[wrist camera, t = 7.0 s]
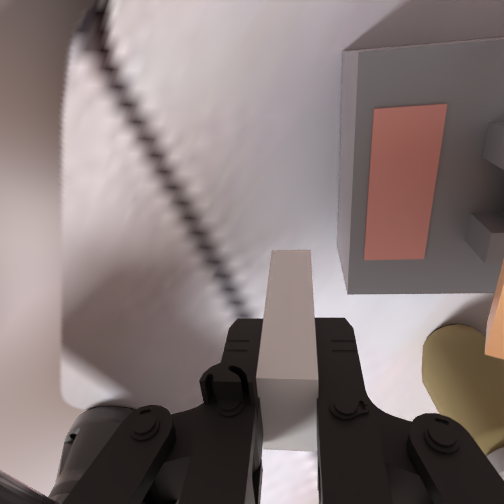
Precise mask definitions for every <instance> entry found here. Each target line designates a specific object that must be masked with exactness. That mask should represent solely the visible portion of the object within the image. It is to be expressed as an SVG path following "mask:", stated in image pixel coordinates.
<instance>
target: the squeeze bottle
mask: <svg viewBox="0 0 504 504" xmlns="http://www.w3.org/2000/svg"><path fill="white" fill-rule="evenodd" d="M485 342H486V336H485V335H483V334H482V333H480V332H479V331H477V330H476V329H474V328H472V327H471V326H466V325H460V324H456V325H448V326H445V327H442V328H440V329H438V330H435V331H434V332H433V333H432V334H431V335H430V336H428V337H427V339H426V341H425V343H424V345H423V356H422V382H423V384H424V386H425V387H426V389H427V391H428V393H429V395H430V397H431V399H432V401H433V403H434V404H435V406H436V408H437V410H438V412H439V414H440V415H444V416H447V417H450V418H451V419H453V420H455V421H456V422H458V423H460V424H461V425H462V426H463V427H464V428H465V429H466V430H467V431H468V432H469V433H470V435H471V436H472V437H473V439H474V440H475V441H476V443H477V444H478V446H479V447H480V448H481V450H482V451H483V453H484V454H485V455H486V457H487V458H488V459H489V461H490V462H491V464H492V465H493V466H494V468H495V469H496V471H497V472H498V473H499V475H500V476H501V477H502V479H503V480H504V359H500V358H496V357H492V356H489V355H485Z"/></svg>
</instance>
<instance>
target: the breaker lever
mask: <svg viewBox="0 0 504 504" xmlns="http://www.w3.org/2000/svg"><path fill="white" fill-rule="evenodd" d="M503 216H504V210H503ZM485 355H489V356H492V357H496V358H500V359H504V260H503V264H502V268H501V272H500V275H499V279H498V283H497V287H496V291H495V294H494V298H493V302H492V306H491V310H490V313H489V317H488V321H487V329H486V342H485Z"/></svg>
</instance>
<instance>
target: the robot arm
mask: <svg viewBox="0 0 504 504" xmlns="http://www.w3.org/2000/svg"><path fill="white" fill-rule="evenodd" d="M200 386H201V391H202V396H203V401H204V403H203V404H201V405H199V406H198V407H196V408H193V409H190V410H187V411H184V412H180V413H176V414H172V415H171V414H170V413H169V411H168V410H167V409H165V408H163V407H162V406H158V405H148V406H144V407H141V408H139V409H137V410H132V409H128V408H123V407H115V406H105V407H97V408H93V409H90V410H88V411H86V412H84V413H82V414H81V415H80V416H79V417H78V418H77V419H76V420H75V422H74V424H73V425H72V428H71V429H70V430H69V432H68V434H67V436H66V439H65V443H64V447H63V452H62V456H61V460H60V465H59V469H58V474H57V479H56V483H55V485H54V487H53V489H52V491H51V493H50V495H49V497H46V496H45V495H43V494H41V493H40V492H38V491H36V490H34V489H33V488H31V487H29V486H27V485H25V484H23V483H22V482H20V481H18V480H17V479H15V478H13V477H11V476H10V475H8V474H6V473H4V472H2V471H1V470H0V504H260V497H261V485H262V472H263V468H262V459H261V457H262V446H263V449H271V450H291V451H312V452H317V455H318V491H319V504H504V480H503V479H502V477H501V476H500V475H499V473H498V472H497V471H496V469H495V468H494V466H493V465H492V464H491V462H490V461H489V459H488V458H487V457H486V455H485V454H484V453H483V451H482V450H481V448H480V447H479V446H478V444H477V443H476V441H475V440H474V439H473V437H472V436H471V435H470V433H469V432H468V431H467V430H466V429H465V428H464V427H463V426H462V425H461V424H460V423H458V422H456V421H455V420H453V419H451V418H450V417H447V416H444V415H440V414H437V413H425V414H422V415H420V416H417V417H416V418H415V419H414V420H413V421H412V422H411V421H407V420H404V419H401V418H398V417H394V416H392V415H390V414H387V413H385V412H383V411H382V410H380V409H379V408H377V407H376V406H375V405H374V404H373V403H372V402H371V400H370V399H369V397H368V396H367V393H366V390H365V386H364V381H363V375H362V370H361V365H360V360H359V355H358V350H357V345H356V340H355V335H354V330H353V327H352V326H351V325H350V324H349V322H348V321H347V320H346V319H345V318H315V317H314V300H313V284H312V268H311V252H310V250H277V251H272V255H271V263H270V271H269V279H268V287H267V295H266V303H265V311H264V319H237V320H236V321H235V322H234V323H233V325H232V326H231V327H230V328H229V331H228V335H227V339H226V344H225V348H224V352H223V356H222V360H221V363H219V364H217V365H214V366H212V367H210V368H209V369H208V370H207V371H206V372H205V373H204V374H203V375H202V377H201V379H200Z"/></svg>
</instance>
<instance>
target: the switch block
mask: <svg viewBox="0 0 504 504" xmlns="http://www.w3.org/2000/svg"><path fill="white" fill-rule="evenodd" d="M503 210H504V37H496V38H485V39H473V40H462V41H451V42H439V43H428V44H417V45H405V46H394V47H383V48H371V49H360V50H349V51H342V80H341V116H340V153H339V189H338V225H337V248H338V253H339V257H340V262H341V267H342V271H343V276H344V281H345V285H346V290H347V294H441V293H495V291H496V287H497V283H498V279H499V275H500V272H501V268H502V264H503V260H504V216H503Z"/></svg>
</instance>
